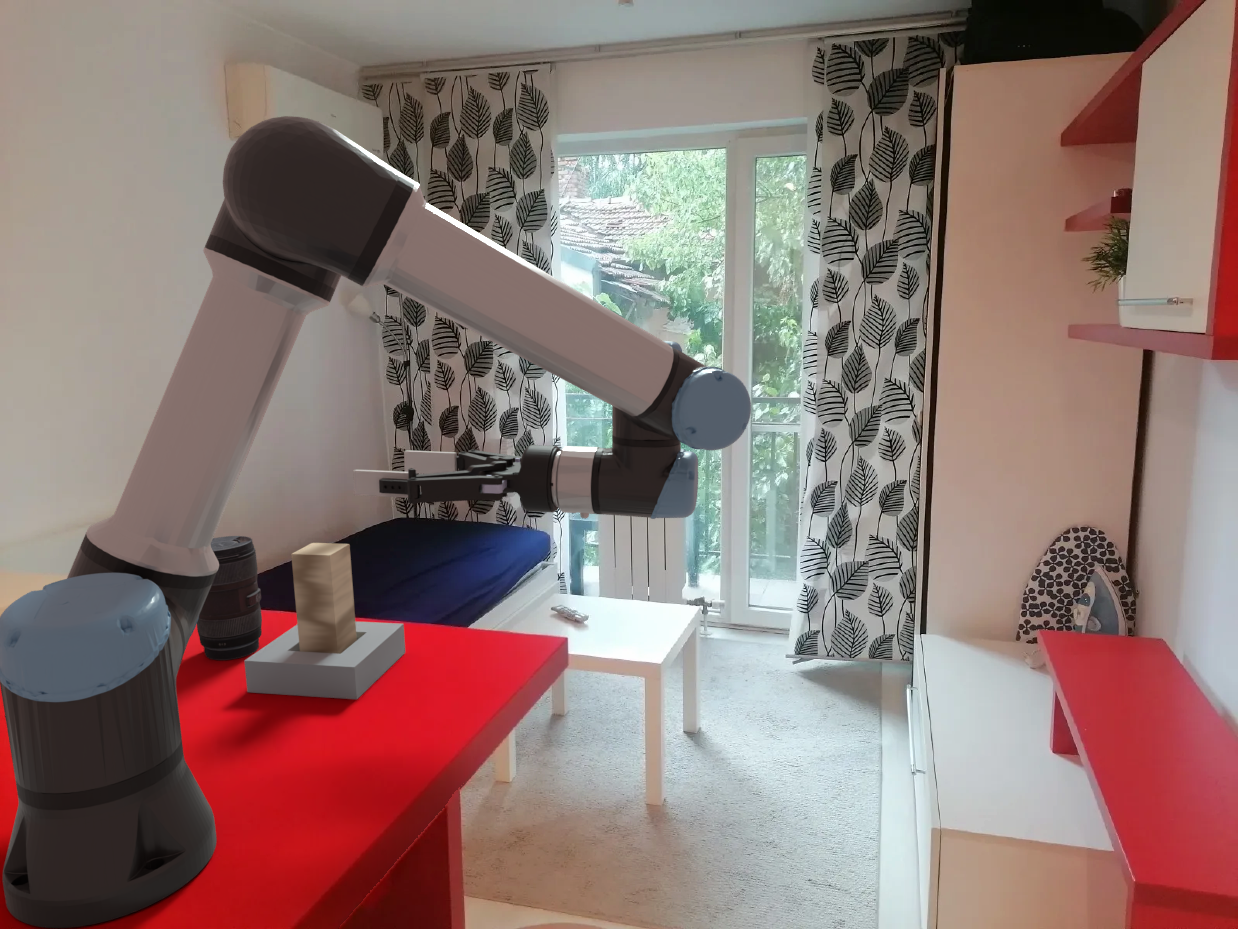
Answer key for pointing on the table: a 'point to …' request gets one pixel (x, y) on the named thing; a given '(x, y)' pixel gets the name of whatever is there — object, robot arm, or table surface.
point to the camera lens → (232, 602)
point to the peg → (324, 597)
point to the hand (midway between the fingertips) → (381, 471)
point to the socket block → (325, 664)
